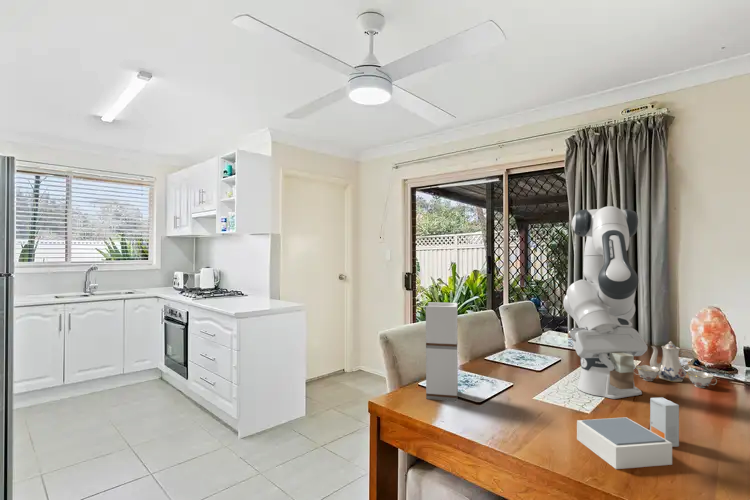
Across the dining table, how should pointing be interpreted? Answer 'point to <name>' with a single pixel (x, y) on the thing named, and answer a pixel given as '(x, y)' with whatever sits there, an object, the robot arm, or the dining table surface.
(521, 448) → the dining table surface
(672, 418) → the skincare box
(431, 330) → the banded white tower
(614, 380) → the block
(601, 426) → the block
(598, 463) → the dining table surface
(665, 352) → the chinaware
